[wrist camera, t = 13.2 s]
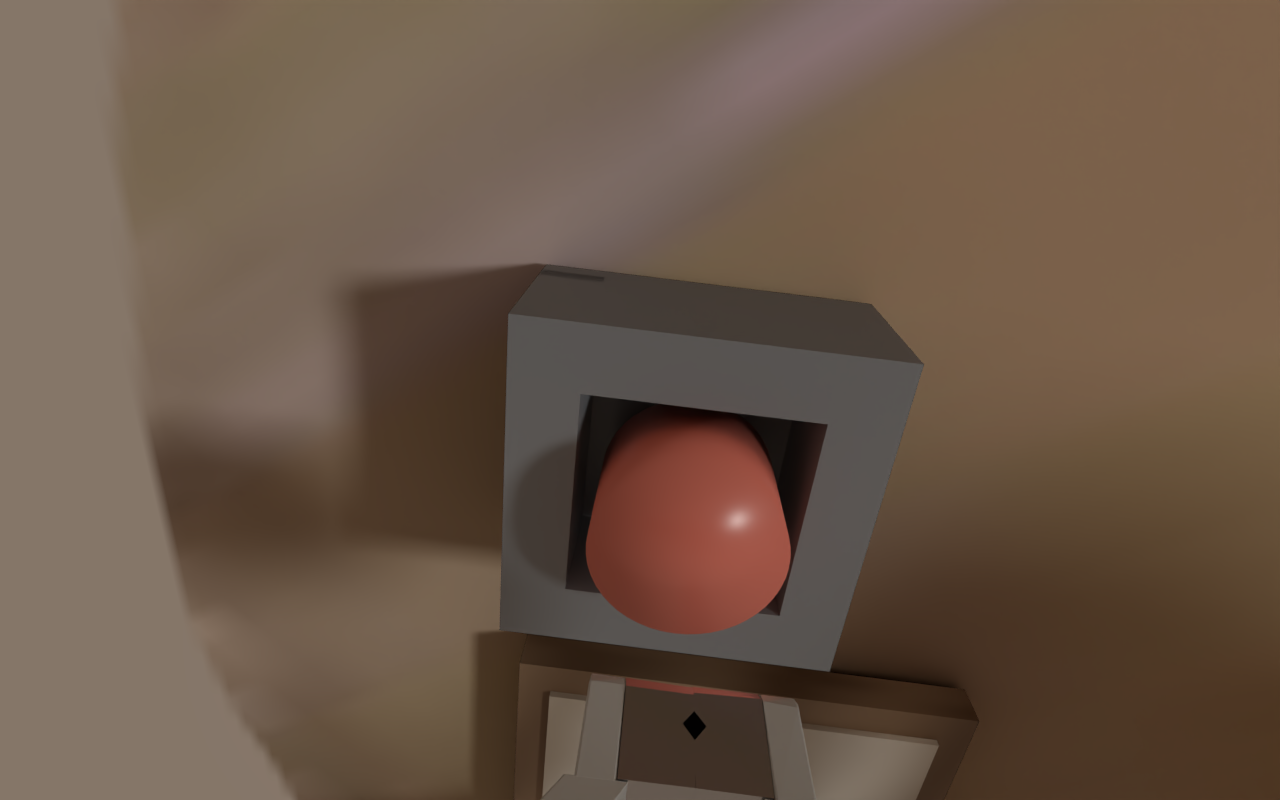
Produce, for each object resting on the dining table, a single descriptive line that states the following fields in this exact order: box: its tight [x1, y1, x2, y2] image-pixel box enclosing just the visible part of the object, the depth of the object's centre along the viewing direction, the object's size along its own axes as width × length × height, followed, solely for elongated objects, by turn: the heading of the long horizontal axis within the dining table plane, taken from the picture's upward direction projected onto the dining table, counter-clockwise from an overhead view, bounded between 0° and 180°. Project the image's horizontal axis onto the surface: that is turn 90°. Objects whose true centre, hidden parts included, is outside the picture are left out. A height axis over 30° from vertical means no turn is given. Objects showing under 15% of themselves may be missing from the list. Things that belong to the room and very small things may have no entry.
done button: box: [586, 404, 791, 634], centre depth 15 cm, size 4×4×3 cm
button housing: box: [500, 265, 924, 672], centre depth 16 cm, size 8×8×4 cm
